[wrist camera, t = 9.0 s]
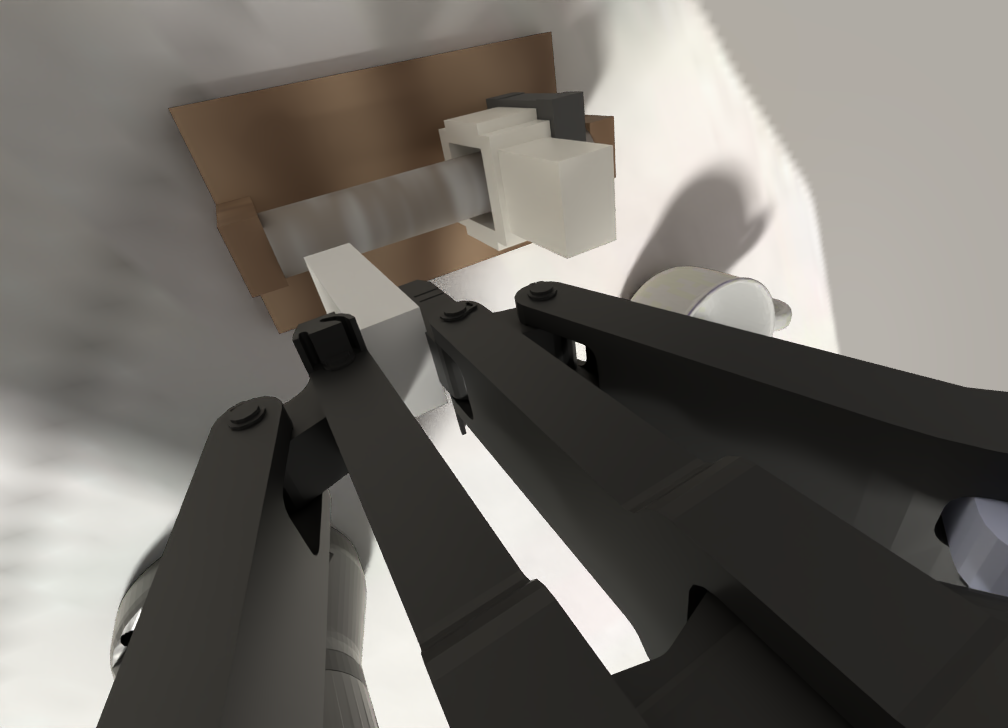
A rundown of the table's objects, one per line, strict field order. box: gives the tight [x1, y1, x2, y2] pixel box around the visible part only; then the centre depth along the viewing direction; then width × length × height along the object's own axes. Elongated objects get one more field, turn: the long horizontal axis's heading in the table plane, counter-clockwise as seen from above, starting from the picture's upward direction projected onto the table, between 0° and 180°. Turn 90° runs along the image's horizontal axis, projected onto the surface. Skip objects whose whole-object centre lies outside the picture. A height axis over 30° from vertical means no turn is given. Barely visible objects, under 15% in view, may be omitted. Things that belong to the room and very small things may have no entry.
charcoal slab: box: [486, 92, 586, 142], centre depth 25 cm, size 2×6×6 cm, turn 10°
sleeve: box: [438, 107, 616, 259], centre depth 22 cm, size 3×6×10 cm, turn 10°
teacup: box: [631, 266, 792, 337], centre depth 39 cm, size 14×11×8 cm
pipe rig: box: [168, 32, 616, 334], centre depth 24 cm, size 19×11×6 cm, turn 100°
